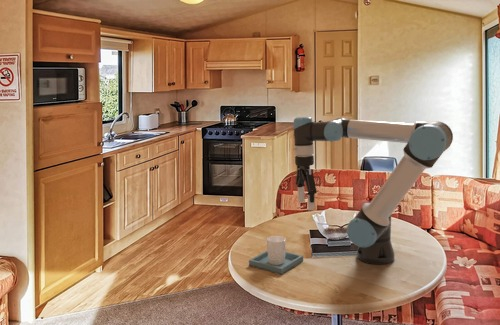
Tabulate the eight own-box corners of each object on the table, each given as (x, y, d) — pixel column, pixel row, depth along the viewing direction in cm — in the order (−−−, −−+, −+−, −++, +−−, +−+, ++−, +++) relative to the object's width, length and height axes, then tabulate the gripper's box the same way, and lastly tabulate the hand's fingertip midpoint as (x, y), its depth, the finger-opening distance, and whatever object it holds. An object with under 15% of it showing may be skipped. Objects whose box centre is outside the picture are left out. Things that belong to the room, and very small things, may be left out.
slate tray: (303, 261, 197) (303, 255, 196) (281, 274, 184) (281, 268, 184) (271, 253, 206) (271, 248, 206) (249, 265, 194) (248, 260, 193)
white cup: (285, 266, 191) (284, 242, 189) (265, 265, 192) (265, 241, 190) (287, 258, 198) (286, 235, 196) (268, 257, 200) (268, 235, 198)
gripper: (287, 152, 205) (289, 200, 208) (304, 160, 180) (307, 214, 184) (303, 150, 206) (305, 198, 209) (323, 158, 182) (325, 212, 185)
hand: (306, 206), depth 197 cm, fingers open, 13 cm apart
